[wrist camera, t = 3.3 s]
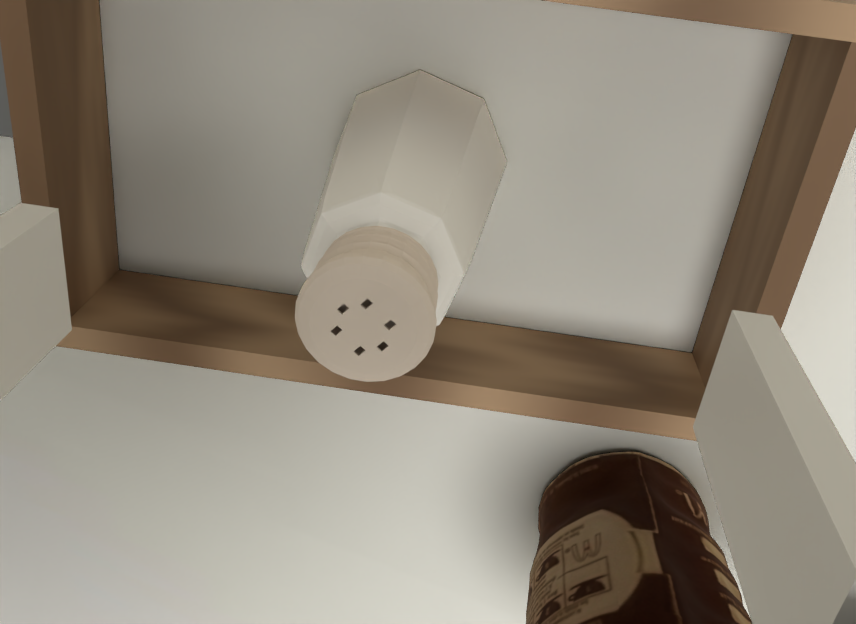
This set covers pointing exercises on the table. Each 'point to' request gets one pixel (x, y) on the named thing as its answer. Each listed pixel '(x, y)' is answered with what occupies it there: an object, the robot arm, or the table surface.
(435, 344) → the tray
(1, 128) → the mat
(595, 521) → the coffee cup
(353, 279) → the salt shaker
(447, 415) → the table surface
